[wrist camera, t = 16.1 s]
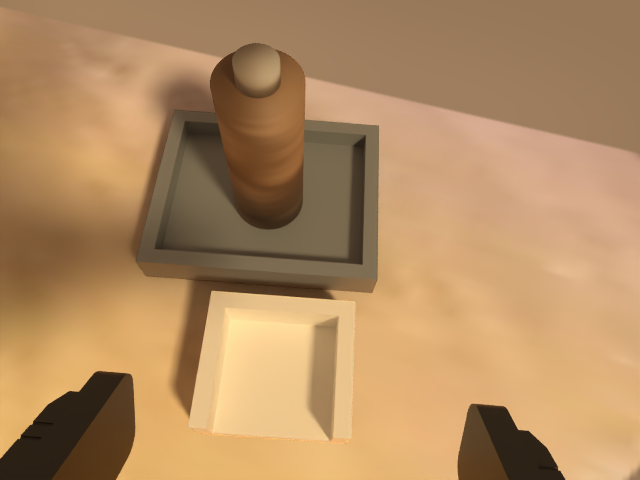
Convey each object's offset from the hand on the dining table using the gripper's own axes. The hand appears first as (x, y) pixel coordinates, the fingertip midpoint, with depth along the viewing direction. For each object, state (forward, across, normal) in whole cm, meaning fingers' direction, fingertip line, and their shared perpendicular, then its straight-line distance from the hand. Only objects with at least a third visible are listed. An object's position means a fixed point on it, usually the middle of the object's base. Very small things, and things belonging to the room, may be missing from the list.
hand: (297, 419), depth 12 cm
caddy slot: (+17, +2, +11) cm, 21 cm away
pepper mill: (+26, +4, +1) cm, 26 cm away
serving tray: (+26, +4, +2) cm, 27 cm away
